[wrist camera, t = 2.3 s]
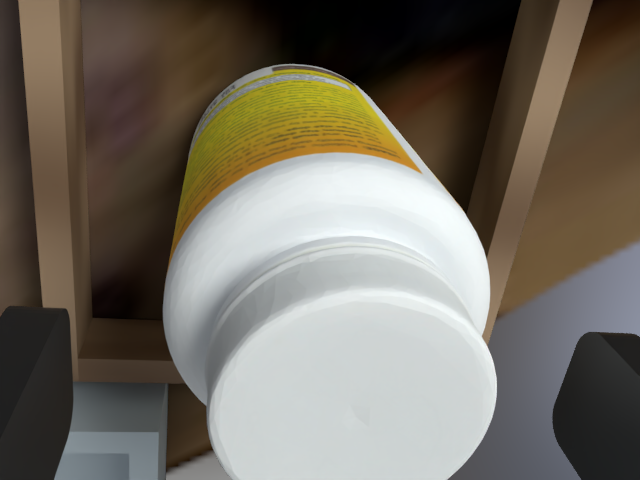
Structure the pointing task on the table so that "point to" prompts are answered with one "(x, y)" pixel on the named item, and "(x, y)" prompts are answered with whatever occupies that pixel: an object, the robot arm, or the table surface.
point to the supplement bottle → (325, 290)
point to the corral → (72, 190)
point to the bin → (116, 432)
